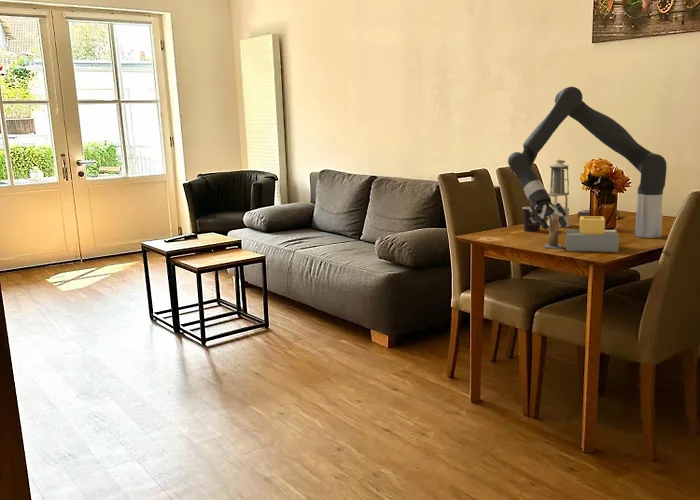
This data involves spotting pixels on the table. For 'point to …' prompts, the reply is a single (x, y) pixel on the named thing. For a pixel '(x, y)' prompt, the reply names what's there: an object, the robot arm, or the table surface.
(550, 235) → the brown wooden cylinder
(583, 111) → the robot arm
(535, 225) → the coffee mug
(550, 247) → the rest pad
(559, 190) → the lamp
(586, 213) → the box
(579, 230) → the grey base plinth
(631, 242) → the table surface
